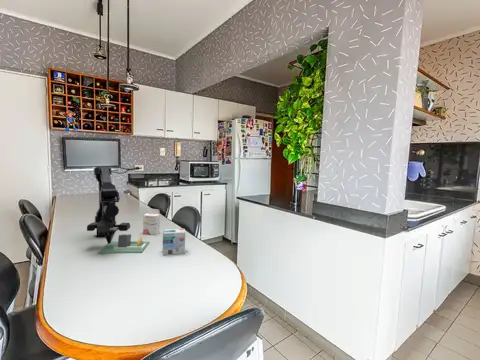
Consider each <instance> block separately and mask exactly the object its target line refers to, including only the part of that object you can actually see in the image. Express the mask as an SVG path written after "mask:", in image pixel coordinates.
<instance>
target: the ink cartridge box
mask: <svg viewBox="0 0 480 360" xmlns="http://www.w3.org/2000/svg"><path fill="white" fill-rule="evenodd" d="M160 213H161V212H160V209H159V208H158V209H157V208H147V209H146V213H145V214H143V220H142V221H143V223H142V226H143V227H142V231H143V232H142V234H143V235H150V236H151V235H152V236H156V235H159V234H160V228H161V227H160V224H161V221H160V219H161V215H160Z"/></svg>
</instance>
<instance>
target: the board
mask: <svg viewBox="0 0 480 360" xmlns="http://www.w3.org/2000/svg"><path fill="white" fill-rule="evenodd" d="M149 244H150V241H147V240H143V236H140V237H138V239H137V240H131V243H130V246H127V247H118V241H111V243H110V244H108V243H107V244H105V245H104V246H103V247H102V248H100V250H98V251H97V253H98V254H141V253H142V254H143V252H144V251H145V250H146V248H147V247H148V246H149Z"/></svg>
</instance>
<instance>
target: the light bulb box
mask: <svg viewBox="0 0 480 360" xmlns="http://www.w3.org/2000/svg"><path fill="white" fill-rule="evenodd" d="M185 251H186V229H185V228H171V229H170V228H169V229H167V228H166V229H163V231H162V256H166V255H168V256H169V255H183V254H184V255H185Z"/></svg>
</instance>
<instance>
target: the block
mask: <svg viewBox="0 0 480 360" xmlns="http://www.w3.org/2000/svg"><path fill="white" fill-rule="evenodd" d="M117 237H118V239H117V240H118V241H117V242H118V247H127V246H130V243H131V241H132V240H131V239H132V234H130V233H129V234H124V233H123V234H118V236H117Z"/></svg>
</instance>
